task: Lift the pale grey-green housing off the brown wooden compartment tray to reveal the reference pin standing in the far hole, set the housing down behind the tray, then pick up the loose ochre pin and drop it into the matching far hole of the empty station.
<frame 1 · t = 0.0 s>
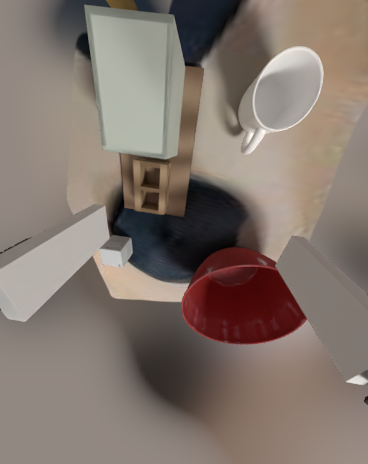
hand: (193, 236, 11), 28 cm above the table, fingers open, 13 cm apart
mug: (253, 121, 30), on the table
brown wooden compartment tray: (156, 153, 34), on the table
mixing bowl: (231, 266, 48), on the table
skincare box: (123, 243, 48), on the table
housing: (156, 113, 30), point 1 cm above the table, touching brown wooden compartment tray
pin: (130, 18, 25), on the table
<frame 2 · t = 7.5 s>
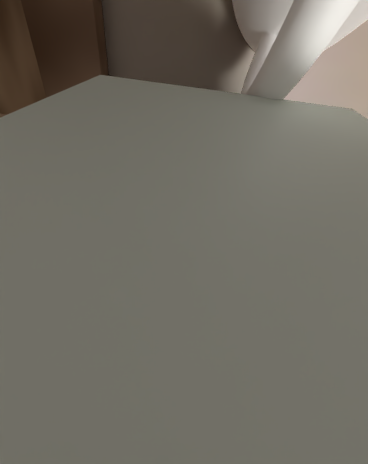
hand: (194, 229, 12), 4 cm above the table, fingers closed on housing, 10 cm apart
mug: (282, 14, 9), on the table, touching housing
brown wooden compartment tray: (30, 137, 14), on the table
housing: (197, 212, 11), point 4 cm above the table, tilted 24°, touching gripper, mug
when the fingers open (3 cm above the table, at t = 8.2 s): housing stays where it is, point 3 cm above the table.
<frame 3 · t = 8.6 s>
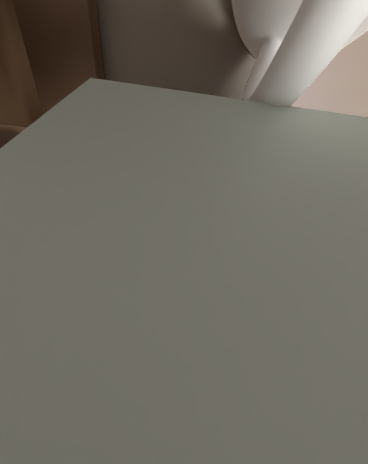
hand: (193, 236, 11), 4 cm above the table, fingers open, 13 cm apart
mug: (283, 20, 9), on the table
brown wooden compartment tray: (25, 145, 13), on the table
housing: (198, 213, 11), point 3 cm above the table, tilted 31°
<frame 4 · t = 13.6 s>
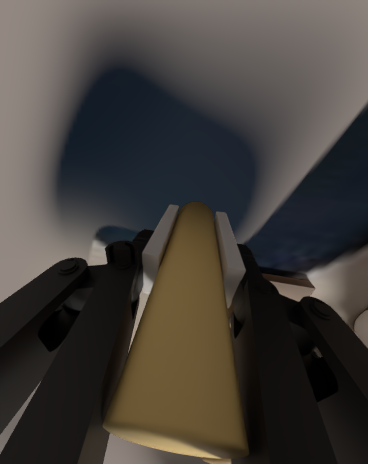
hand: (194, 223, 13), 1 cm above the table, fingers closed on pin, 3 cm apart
brown wooden compartment tray: (207, 335, 23), on the table
pin: (195, 218, 14), on the table, touching gripper
when the fingers open (6 cm above the table, at t = 18.6 s): pin drops 2 cm, resting on brown wooden compartment tray.
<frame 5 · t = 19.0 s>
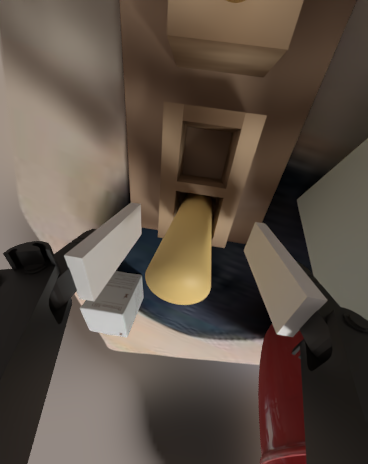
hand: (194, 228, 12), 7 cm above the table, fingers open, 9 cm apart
brown wooden compartment tray: (214, 99, 14), on the table
mixing bowl: (314, 322, 28), on the table
skincare box: (127, 282, 28), on the table
pin: (197, 202, 18), point 1 cm above the table, touching brown wooden compartment tray
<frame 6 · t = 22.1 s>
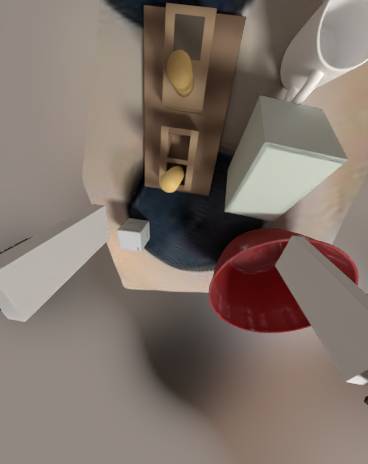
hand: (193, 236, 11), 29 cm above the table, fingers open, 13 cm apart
mug: (296, 77, 27), on the table, touching housing
brown wooden compartment tray: (183, 122, 31), on the table
mixing bowl: (254, 252, 45), on the table
skincare box: (140, 227, 45), on the table
housing: (265, 145, 29), point 4 cm above the table, tilted 32°, touching mug
pin: (178, 171, 35), point 1 cm above the table, touching brown wooden compartment tray
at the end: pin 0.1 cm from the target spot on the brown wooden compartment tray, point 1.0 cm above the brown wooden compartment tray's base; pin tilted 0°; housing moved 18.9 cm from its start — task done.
